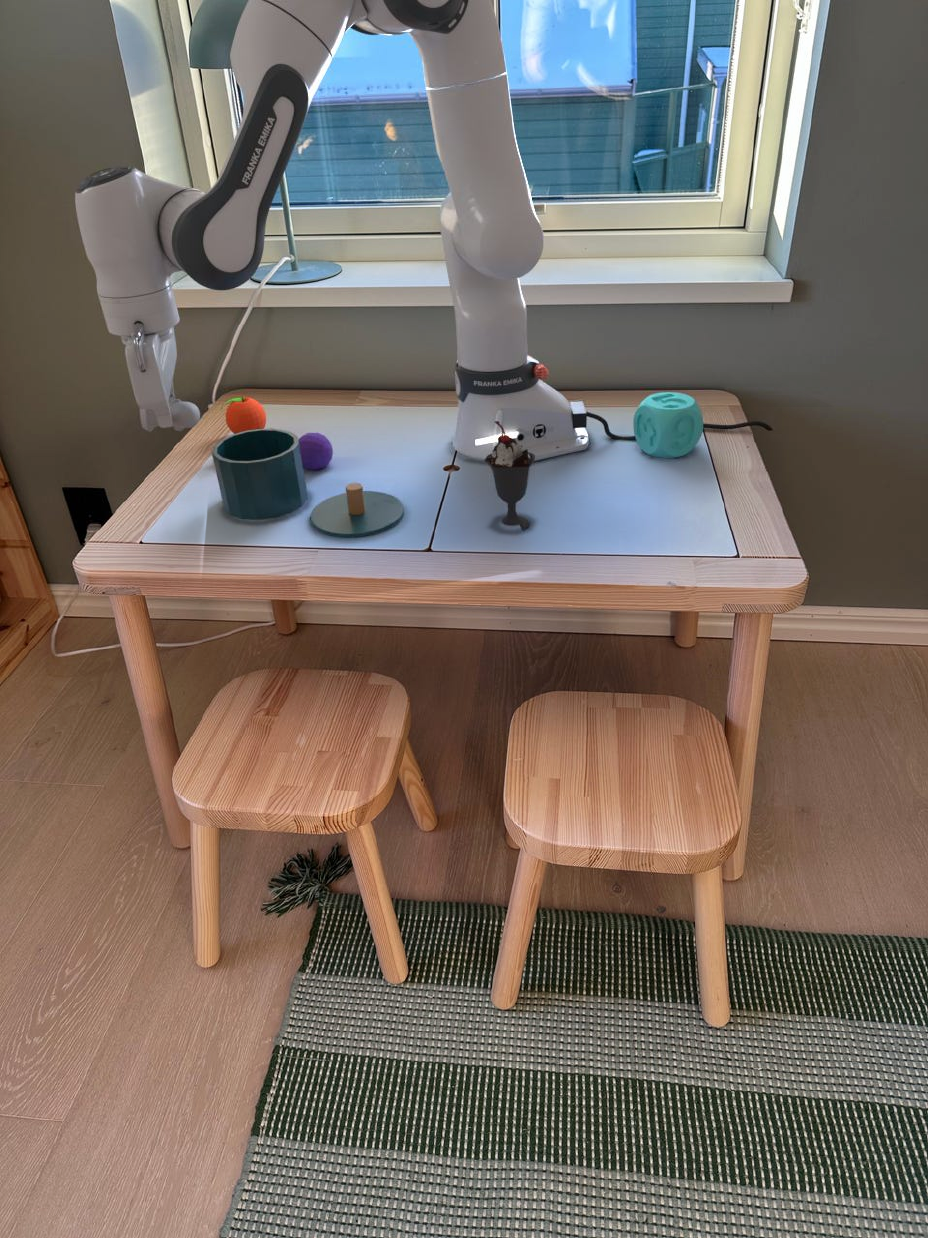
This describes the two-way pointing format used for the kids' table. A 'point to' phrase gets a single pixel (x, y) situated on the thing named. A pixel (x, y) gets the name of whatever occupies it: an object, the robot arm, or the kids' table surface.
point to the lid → (357, 513)
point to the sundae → (510, 475)
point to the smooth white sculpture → (181, 412)
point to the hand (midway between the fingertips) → (168, 416)
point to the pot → (260, 473)
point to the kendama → (315, 451)
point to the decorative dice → (668, 424)
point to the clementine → (245, 415)
